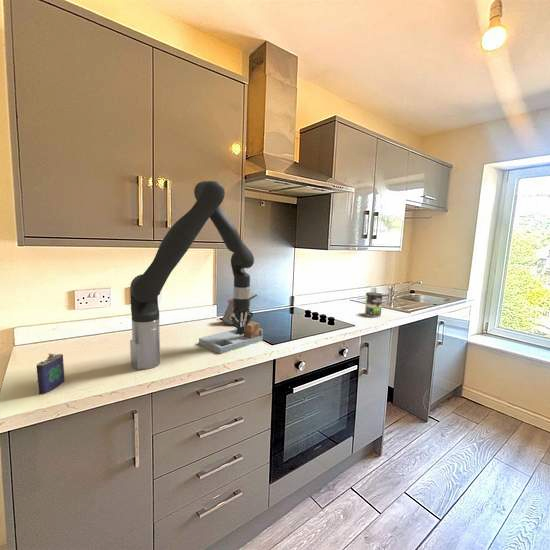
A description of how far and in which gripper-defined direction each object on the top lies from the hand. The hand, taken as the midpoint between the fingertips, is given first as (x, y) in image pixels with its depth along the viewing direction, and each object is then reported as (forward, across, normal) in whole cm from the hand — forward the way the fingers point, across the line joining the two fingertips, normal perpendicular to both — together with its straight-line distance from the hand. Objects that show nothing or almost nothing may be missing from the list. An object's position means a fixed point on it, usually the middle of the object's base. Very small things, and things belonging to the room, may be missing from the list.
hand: (240, 334), depth 136 cm
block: (+2, +5, -1) cm, 6 cm away
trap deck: (+4, -2, +4) cm, 6 cm away
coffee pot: (+4, +22, +26) cm, 34 cm away
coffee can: (+4, +98, -16) cm, 99 cm away
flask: (+5, -68, +9) cm, 69 cm away
